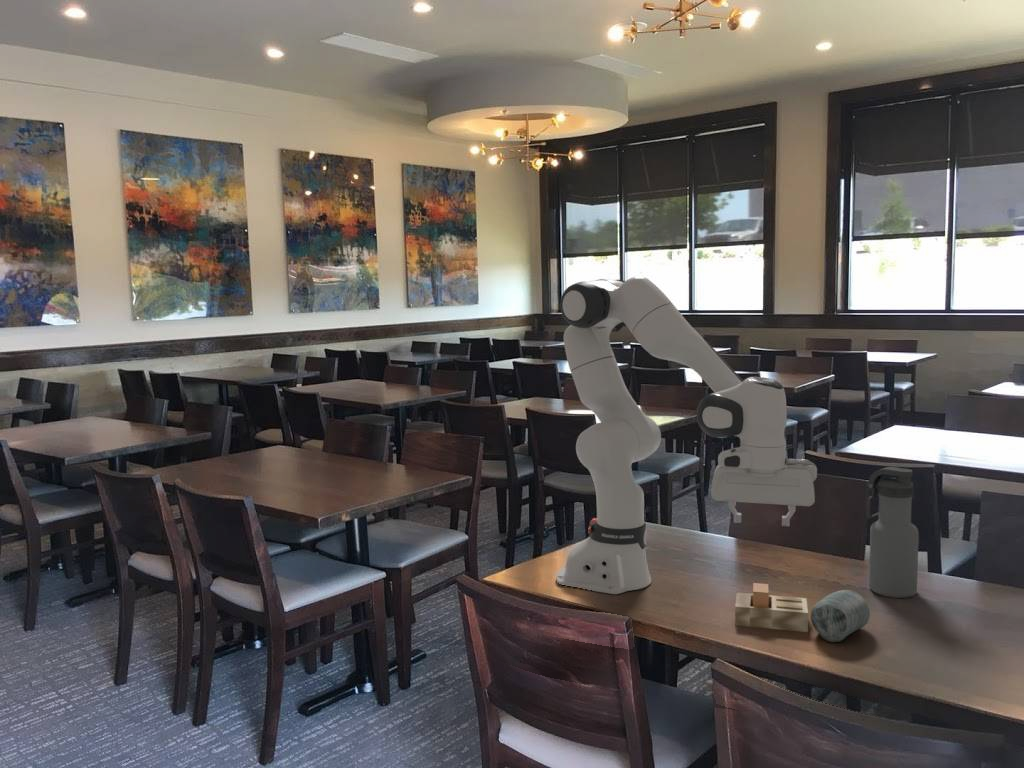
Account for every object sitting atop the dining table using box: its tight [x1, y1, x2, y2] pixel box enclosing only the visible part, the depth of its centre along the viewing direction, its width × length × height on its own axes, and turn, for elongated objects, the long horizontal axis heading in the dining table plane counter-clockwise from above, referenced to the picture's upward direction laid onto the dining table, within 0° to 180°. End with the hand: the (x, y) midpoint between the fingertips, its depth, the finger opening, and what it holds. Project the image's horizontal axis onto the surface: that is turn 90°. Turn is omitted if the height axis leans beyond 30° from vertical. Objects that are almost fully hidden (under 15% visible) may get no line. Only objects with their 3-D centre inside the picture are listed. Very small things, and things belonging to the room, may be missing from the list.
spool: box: [810, 589, 871, 643], centre depth 159 cm, size 14×10×10 cm
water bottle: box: [866, 466, 920, 599], centre depth 180 cm, size 10×10×28 cm
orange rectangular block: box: [752, 582, 770, 608], centre depth 167 cm, size 3×5×7 cm, turn 163°
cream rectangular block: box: [734, 592, 809, 633], centre depth 166 cm, size 14×8×4 cm, turn 72°
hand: (761, 523), depth 165 cm, fingers open, 8 cm apart
